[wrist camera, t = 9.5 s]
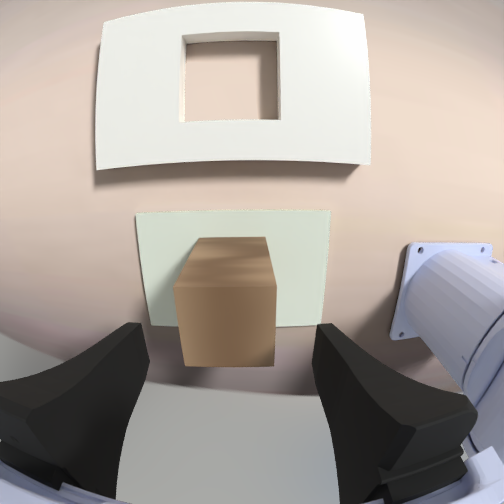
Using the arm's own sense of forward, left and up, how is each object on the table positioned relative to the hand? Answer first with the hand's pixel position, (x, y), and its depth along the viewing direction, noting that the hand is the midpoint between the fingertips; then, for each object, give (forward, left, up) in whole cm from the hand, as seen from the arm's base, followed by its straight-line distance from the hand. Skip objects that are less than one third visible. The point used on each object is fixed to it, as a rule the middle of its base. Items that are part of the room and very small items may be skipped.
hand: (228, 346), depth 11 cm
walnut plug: (0, 0, -8) cm, 8 cm away
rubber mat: (0, 0, -8) cm, 8 cm away
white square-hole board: (0, -12, -8) cm, 14 cm away
